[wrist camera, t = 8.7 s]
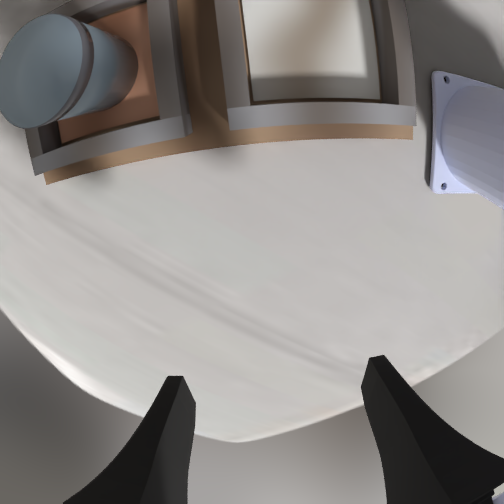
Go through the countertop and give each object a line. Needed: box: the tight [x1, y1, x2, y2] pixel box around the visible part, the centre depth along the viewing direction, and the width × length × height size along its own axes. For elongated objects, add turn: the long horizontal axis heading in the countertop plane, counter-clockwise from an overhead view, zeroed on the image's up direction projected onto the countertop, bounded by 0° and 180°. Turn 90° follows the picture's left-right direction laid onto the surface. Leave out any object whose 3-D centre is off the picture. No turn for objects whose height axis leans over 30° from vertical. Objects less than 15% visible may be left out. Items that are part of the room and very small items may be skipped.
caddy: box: [25, 0, 416, 185], centre depth 11 cm, size 22×11×3 cm, turn 96°
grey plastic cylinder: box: [0, 13, 138, 129], centre depth 9 cm, size 4×4×6 cm
